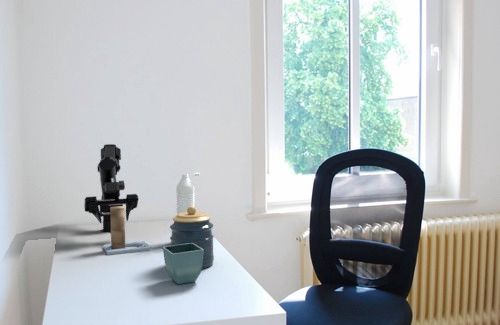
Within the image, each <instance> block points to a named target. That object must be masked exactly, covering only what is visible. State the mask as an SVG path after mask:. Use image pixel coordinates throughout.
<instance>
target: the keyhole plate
mask: <svg viewBox="0 0 500 325" xmlns="http://www.w3.org/2000/svg"><path fill="white" fill-rule="evenodd" d="M103 249H104V251H105V253H106V254H107V255H108V256H110V255H120V254H130V253H140V252H148V251H151V250H152V249H151V246H150V245H149V243H147V242H146V241H145V240H139V241H131V242H125V248H122V249H113V250H111V243H109V244H108V243H107V244H103Z"/></svg>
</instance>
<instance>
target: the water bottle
mask: <svg viewBox="0 0 500 325" xmlns="http://www.w3.org/2000/svg"><path fill="white" fill-rule="evenodd" d="M199 176H201V172H193V176H192V177H199ZM195 191H196V190H195V185H194V183H193V182H192V180H191V179H190V177H189V173H181V178H180V180H179V182H178V183H177V185H176V215H177V214H179V213H184V212H187V209H188V207H190V206H193V207H196V203H195V200H196V199H195V196H196V195H195Z"/></svg>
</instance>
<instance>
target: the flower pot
mask: <svg viewBox="0 0 500 325" xmlns="http://www.w3.org/2000/svg"><path fill="white" fill-rule="evenodd" d="M162 252H163V260H164V265H165V268H166V271H167V272H168V273H167V274H168V275H169V276H170V279H172V281H173V282H174V283H176V284H177V285H182V284H187V283H193V282H196V281H197V279H198V278H199V276H200V274H201V272H202V263H203V253H204V249H202V248H200V247H199V246H197V245H195V244H194V243H187V244H180V245H173V246H171V245H167V246H162Z"/></svg>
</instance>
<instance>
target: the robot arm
mask: <svg viewBox="0 0 500 325" xmlns="http://www.w3.org/2000/svg"><path fill="white" fill-rule="evenodd" d="M121 152H122V150H121V148H119V147H117V144H114V143H112V144H111V143H108V144H107V143H105V144H104V145H103V147H102V148H101V149H100V161H99V163H97V166H96V168H97V172H98V173H99V176H100V178H99V181H100V186H101V187H100V188H101V198H100V199H97V196H96V195H95V196H86V197H85V198H84V203H83V204H84V205H83V208H84V211H85V212H86V213H87V212H88V213H89V214H92V215H93V216H94V217H95V218H96V220H97V221H98V222H99V223H100V224H102V228H101V229H100V232H108V233H111V213H110V208H111V207H116V206H123V207H124V205H125V219H126V220H125V221H126V222H128V221H129V218H130V214H131V211H133V210H135V209H136V208H138V204H139V196H138V194H137V193H132V194H129V193H128V194H126V196H125V198H120V197H121V192H120V191H124V190H125V188H126V186H125V181H124V180H118V181H117V175H118V173H119V172H120V170H121V165H120V161H121V160H122V153H121Z"/></svg>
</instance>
